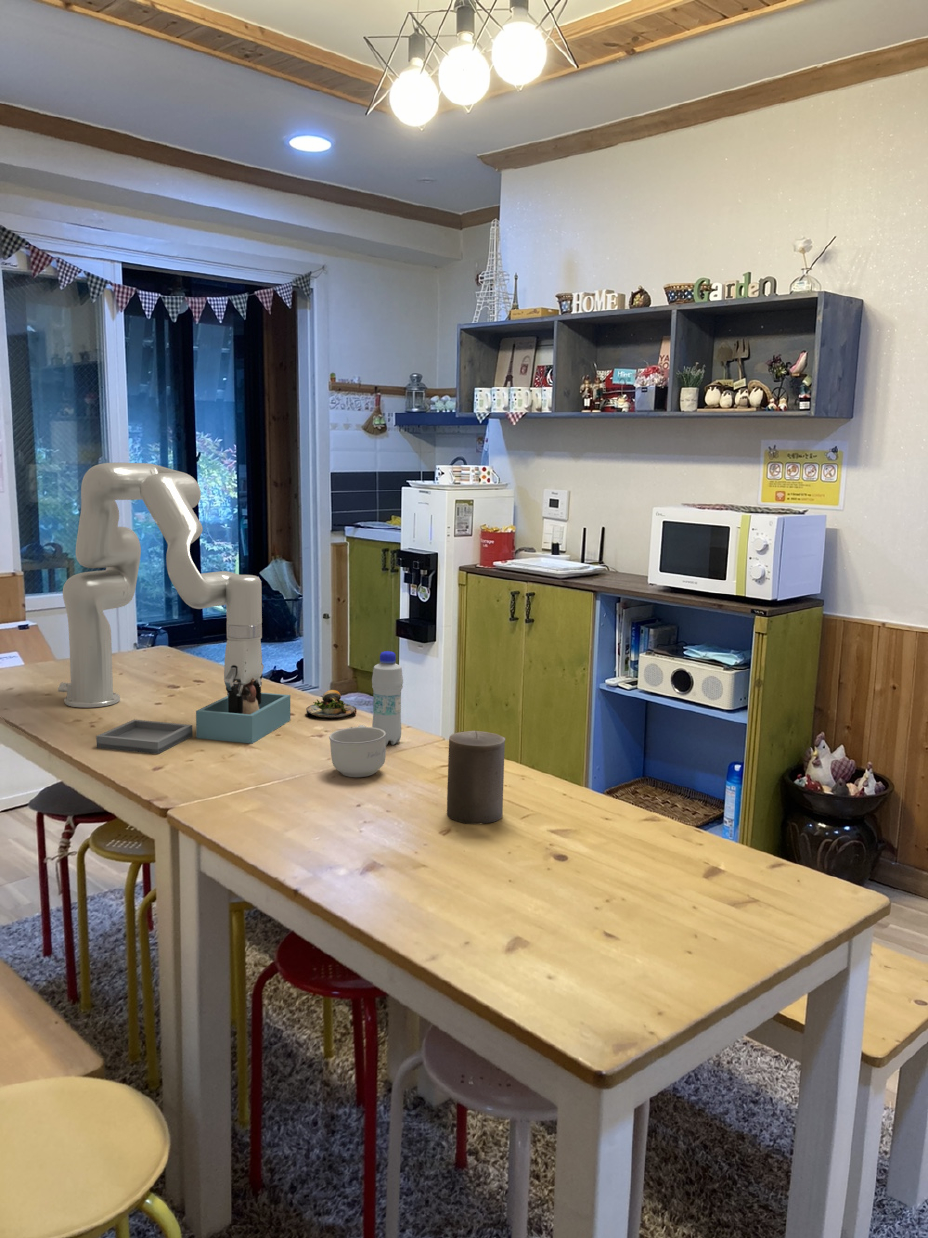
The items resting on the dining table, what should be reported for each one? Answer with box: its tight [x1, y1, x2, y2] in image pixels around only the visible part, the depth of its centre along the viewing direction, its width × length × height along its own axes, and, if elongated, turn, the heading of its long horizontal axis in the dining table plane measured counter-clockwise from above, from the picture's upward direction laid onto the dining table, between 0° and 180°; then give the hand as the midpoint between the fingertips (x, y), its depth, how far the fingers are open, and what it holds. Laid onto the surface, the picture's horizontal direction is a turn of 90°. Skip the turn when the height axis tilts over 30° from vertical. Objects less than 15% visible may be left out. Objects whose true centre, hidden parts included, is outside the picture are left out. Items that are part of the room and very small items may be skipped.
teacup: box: [328, 724, 387, 778], centre depth 194 cm, size 14×11×8 cm
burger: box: [305, 685, 357, 719], centre depth 235 cm, size 12×12×8 cm
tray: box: [95, 718, 193, 755], centre depth 209 cm, size 14×14×2 cm
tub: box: [195, 692, 291, 744], centre depth 221 cm, size 13×20×6 cm, turn 166°
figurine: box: [235, 678, 259, 715], centre depth 220 cm, size 7×7×12 cm
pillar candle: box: [446, 730, 506, 825], centre depth 171 cm, size 10×10×15 cm
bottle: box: [371, 650, 404, 746], centre depth 212 cm, size 7×7×20 cm
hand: (245, 708), depth 220 cm, fingers open, 8 cm apart
